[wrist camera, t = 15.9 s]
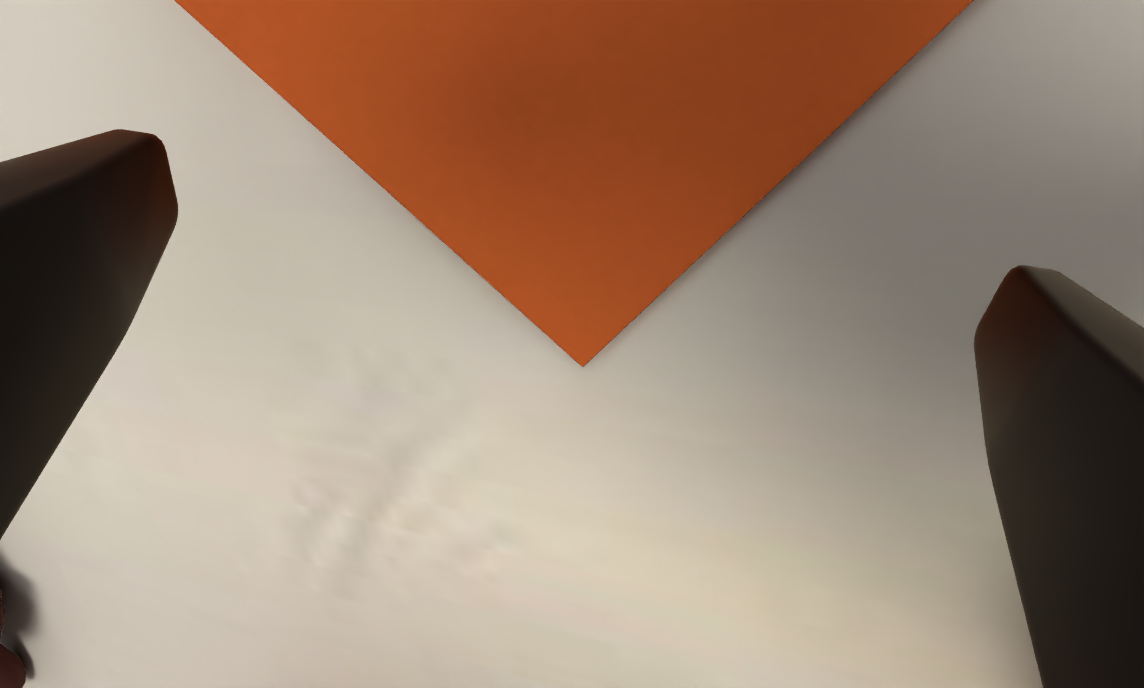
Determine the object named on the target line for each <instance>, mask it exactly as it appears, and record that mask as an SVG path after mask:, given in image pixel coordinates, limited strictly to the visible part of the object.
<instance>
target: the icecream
mask: <svg viewBox="0 0 1144 688" xmlns="http://www.w3.org/2000/svg"><path fill="white" fill-rule="evenodd" d="M4 614H5V608H4V604H3V601H2V598H1V588H0V636H1V631H2V625H3V619H4ZM25 678H26V671H25V669H24V666H23V663H22V661H21V658H19V657H18V656H17V655H16V654H14V653H13V652H12V651H10V650H9V649H7V648H6V647H5V646H3V645H2V644H0V688H22V687H23V685H24V683H25Z"/></svg>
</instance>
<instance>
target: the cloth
mask: <svg viewBox="0 0 1144 688" xmlns="http://www.w3.org/2000/svg"><path fill="white" fill-rule="evenodd" d="M175 1H176V2H177V3H178V4H179V5H180V6H181V7H183V8H184V9H185V10H186V11H187V12H188V13H189V14H190V15H191V16H193V17H194V18H195V19H196V20H197V21H198V22H199V23H200V24H201V25H203V26H204V27H205V28H206V29H207V30H208V31H209V32H210V33H211V34H213V35H214V36H215V37H216V38H217V39H218V40H219V41H220V42H222V43H223V44H224V45H225V46H226V47H227V48H228V49H229V50H230V51H232V52H233V53H234V54H235V55H236V56H237V57H238V58H239V59H240V60H242V61H243V62H244V63H245V64H246V65H247V66H248V67H249V68H250V69H252V70H253V71H254V72H255V73H256V74H257V75H258V76H259V77H260V78H262V79H263V80H264V81H265V82H266V83H267V84H268V85H269V86H270V87H272V88H273V89H274V90H275V91H276V92H277V93H278V94H279V95H280V96H282V97H283V98H284V99H285V100H286V101H287V102H288V103H289V104H290V105H292V106H293V107H294V108H295V109H296V110H297V111H298V112H299V113H301V114H302V115H303V116H304V117H305V118H306V119H307V120H308V121H309V122H311V123H312V124H313V125H314V126H315V127H316V128H317V129H318V130H319V131H321V132H322V133H323V134H324V135H325V136H326V137H327V138H328V139H329V140H331V141H332V142H333V143H334V144H335V145H336V146H337V147H338V148H339V149H341V150H342V151H343V152H344V153H345V154H346V155H347V156H348V157H349V158H351V159H352V160H353V161H354V162H355V163H356V164H357V165H358V166H359V167H361V168H362V169H363V170H364V171H365V172H366V173H367V174H368V175H370V176H371V177H372V178H373V179H374V180H375V181H376V182H377V183H378V184H380V185H381V186H382V187H383V188H384V189H385V190H386V191H387V192H388V193H390V194H391V195H392V196H393V197H394V198H395V199H396V200H397V201H398V202H400V203H401V204H402V205H403V206H404V207H405V208H406V209H407V210H408V211H410V212H411V213H412V214H413V215H414V216H415V217H416V218H417V219H418V220H420V221H421V222H422V223H423V224H424V225H425V226H426V227H427V228H428V229H430V230H431V231H432V232H433V233H434V234H435V235H436V236H437V237H438V238H440V239H441V240H442V241H443V242H444V243H445V244H446V245H447V246H449V247H450V248H451V249H452V250H453V251H454V252H455V253H456V254H457V255H459V256H460V257H461V258H462V259H463V260H464V261H465V262H466V263H467V264H469V265H470V266H471V267H472V268H473V269H474V270H475V271H476V272H477V273H479V274H480V275H481V276H482V277H483V278H484V279H485V280H486V281H487V282H489V283H490V284H491V285H492V286H493V287H494V288H495V289H496V290H497V291H499V292H500V293H501V294H502V295H503V296H504V297H505V298H506V299H507V300H509V301H510V302H511V303H512V304H513V305H514V306H515V307H516V308H517V309H519V310H520V311H521V312H522V313H523V314H524V315H525V316H526V317H528V318H529V319H530V320H531V321H532V322H533V323H534V324H535V325H536V326H538V327H539V328H540V329H541V330H542V331H543V332H544V333H545V334H546V335H548V336H549V337H550V338H551V339H552V340H553V341H554V342H555V343H556V344H558V345H559V346H560V347H561V348H562V349H563V350H564V351H565V352H566V353H568V354H569V355H570V356H571V357H572V358H573V359H574V360H575V361H576V362H578V363H579V364H580V365H581V366H582V367H583V366H585V365H586V364H587V363H588V362H589V361H590V360H591V359H592V358H593V357H594V356H595V355H596V354H597V353H598V352H599V351H601V350H602V349H603V348H604V347H605V346H606V345H607V344H608V343H609V342H610V341H611V340H612V339H613V338H614V337H615V336H616V335H618V334H619V333H620V332H621V331H622V330H623V329H624V328H625V327H626V326H627V325H628V324H629V323H630V322H631V321H632V320H634V319H635V318H636V317H637V316H638V315H639V314H640V313H641V312H642V311H643V310H644V309H645V308H646V307H647V306H648V305H650V304H651V303H652V302H653V301H654V300H655V299H656V298H657V297H658V296H659V295H660V294H661V293H662V292H663V291H664V290H665V289H667V288H668V287H669V286H670V285H671V284H672V283H673V282H674V281H675V280H676V279H677V278H678V277H679V276H680V275H681V274H683V273H684V272H685V271H686V270H687V269H688V268H689V267H690V266H691V265H692V264H693V263H694V262H695V261H696V260H697V259H699V258H700V257H701V256H702V255H703V254H704V253H705V252H706V251H707V250H708V249H709V248H710V247H711V246H712V245H713V244H714V243H716V242H717V241H718V240H719V239H720V238H721V237H722V236H723V235H724V234H725V233H726V232H727V231H728V230H729V229H730V228H732V227H733V226H734V225H735V224H736V223H737V222H738V221H739V220H740V219H741V218H742V217H743V216H744V215H745V214H746V213H748V212H749V211H750V210H751V209H752V208H753V207H754V206H755V205H756V204H757V203H758V202H759V201H760V200H761V199H762V198H764V197H765V196H766V195H767V194H768V193H769V192H770V191H771V190H772V189H773V188H774V187H775V186H776V185H777V184H778V183H779V182H781V181H782V180H783V179H784V178H785V177H786V176H787V175H788V174H789V173H790V172H791V171H792V170H793V169H794V168H795V167H797V166H798V165H799V164H800V163H801V162H802V161H803V160H804V159H805V158H806V157H807V156H808V155H809V154H810V153H811V152H813V151H814V150H815V149H816V148H817V147H818V146H819V145H820V144H821V143H822V142H823V141H824V140H825V139H826V138H827V137H828V136H830V135H831V134H832V133H833V132H834V131H835V130H836V129H837V128H838V127H839V126H840V125H841V124H842V123H843V122H844V121H846V120H847V119H848V118H849V117H850V116H851V115H852V114H853V113H854V112H855V111H856V110H857V109H858V108H859V107H860V106H862V105H863V104H864V103H865V102H866V101H867V100H868V99H869V98H870V97H871V96H872V95H873V94H874V93H875V92H876V91H877V90H879V89H880V88H881V87H882V86H883V85H884V84H885V83H886V82H887V81H888V80H889V79H890V78H891V77H892V76H893V75H895V74H896V73H897V72H898V71H899V70H900V69H901V68H902V67H903V66H904V65H905V64H906V63H907V62H908V61H909V60H911V59H912V58H913V57H914V56H915V55H916V54H917V53H918V52H919V51H920V50H921V49H922V48H923V47H924V46H925V45H927V44H928V43H929V42H930V41H931V40H932V39H933V38H934V37H935V36H936V35H937V34H938V33H939V32H940V31H941V30H942V29H944V28H945V27H946V26H947V25H948V24H949V23H950V22H951V21H952V20H953V19H954V18H955V17H956V16H957V15H958V14H960V13H961V12H962V11H963V10H964V9H965V8H966V7H967V6H968V5H969V4H970V3H971V2H972V1H973V0H175Z"/></svg>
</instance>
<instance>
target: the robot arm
mask: <svg viewBox="0 0 1144 688" xmlns="http://www.w3.org/2000/svg"><path fill="white" fill-rule="evenodd" d="M177 217H178V203H177V198H176V193H175V189H174V184H173V180H172V175H171V171H170V166H169V162H168V157H167V153H166V150H165V147H164V145H163V143H162V141H161V140H160V139H159V138H158V137H157V136H155V135H153V134H149V133H143V132H136V131H129V130H123V129H117V130H112V131H108V132H105V133H101V134H98V135H94V136H91V137H87V138H84V139H80V140H77V141H73V142H70V143H66V144H63V145H59V146H56V147H52V148H49V149H45V150H42V151H38V152H35V153H31V154H28V155H24V156H21V157H17V158H14V159H10V160H7V161H3V162H0V539H1V538H2V536H3V534H4V533H5V531H6V529H7V528H8V526H9V525H10V523H11V521H12V520H13V518H14V516H15V515H16V513H17V512H18V510H19V508H20V507H21V505H22V503H23V502H24V500H25V498H26V497H27V495H28V494H29V492H30V490H31V489H32V487H33V485H34V484H35V482H36V481H37V479H38V477H39V476H40V474H41V472H42V471H43V469H44V468H45V466H46V464H47V463H48V461H49V459H50V458H51V456H52V455H53V453H54V451H55V450H56V448H57V446H58V445H59V443H60V442H61V440H62V438H63V437H64V435H65V433H66V432H67V430H68V429H69V427H70V425H71V424H72V422H73V420H74V419H75V417H76V415H77V414H78V412H79V411H80V409H81V407H82V406H83V404H84V402H85V401H86V399H87V398H88V396H89V394H90V393H91V391H92V389H93V388H94V386H95V385H96V383H97V381H98V380H99V378H100V376H101V375H102V373H103V372H104V370H105V368H106V367H107V365H108V363H109V362H110V360H111V359H112V357H113V355H114V354H115V352H116V350H117V348H118V347H119V345H120V343H121V341H122V340H123V338H124V336H125V335H126V333H127V331H128V329H129V327H130V325H131V323H132V321H133V319H134V317H135V314H136V312H137V310H138V308H139V305H140V303H141V301H142V299H143V297H144V294H145V292H146V290H147V288H148V286H149V283H150V281H151V279H152V277H153V275H154V272H155V270H156V268H157V266H158V263H159V261H160V259H161V257H162V255H163V252H164V250H165V248H166V246H167V244H168V241H169V239H170V237H171V235H172V233H173V230H174V228H175V225H176V222H177ZM974 352H975V360H976V369H977V377H978V386H979V394H980V403H981V411H982V420H983V429H984V437H985V446H986V452H987V458H988V465H989V469H990V474H991V478H992V483H993V487H994V491H995V495H996V500H997V504H998V508H999V512H1000V516H1001V520H1002V524H1003V528H1004V532H1005V536H1006V540H1007V544H1008V548H1009V552H1010V556H1011V560H1012V564H1013V568H1014V572H1015V576H1016V580H1017V584H1018V588H1019V592H1020V596H1021V600H1022V604H1023V608H1024V612H1025V616H1026V620H1027V624H1028V629H1029V633H1030V637H1031V641H1032V645H1033V649H1034V653H1035V657H1036V661H1037V665H1038V669H1039V673H1040V677H1041V681H1042V685H1043V688H1144V328H1143V327H1142V326H1140V325H1139V324H1137V323H1136V322H1134V321H1132V320H1131V319H1129V318H1128V317H1126V316H1125V315H1123V314H1122V313H1120V312H1119V311H1117V310H1116V309H1114V308H1113V307H1111V306H1110V305H1108V304H1107V303H1105V302H1104V301H1102V300H1101V299H1099V298H1098V297H1096V296H1095V295H1093V294H1092V293H1090V292H1089V291H1087V290H1086V289H1084V288H1083V287H1081V286H1080V285H1078V284H1077V283H1075V282H1074V281H1072V280H1071V279H1069V278H1068V277H1066V276H1065V275H1063V274H1061V273H1060V272H1058V271H1055V270H1052V269H1045V268H1038V267H1032V266H1025V265H1020V266H1017V267H1015V268H1013V269H1011V270H1010V271H1009V272H1008V273H1007V275H1006V276H1005V277H1004V279H1003V281H1002V283H1001V284H1000V286H999V288H998V290H997V292H996V293H995V295H994V297H993V299H992V301H991V302H990V304H989V306H988V308H987V310H986V311H985V313H984V315H983V317H982V319H981V320H980V322H979V324H978V327H977V330H976V333H975V338H974Z"/></svg>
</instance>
